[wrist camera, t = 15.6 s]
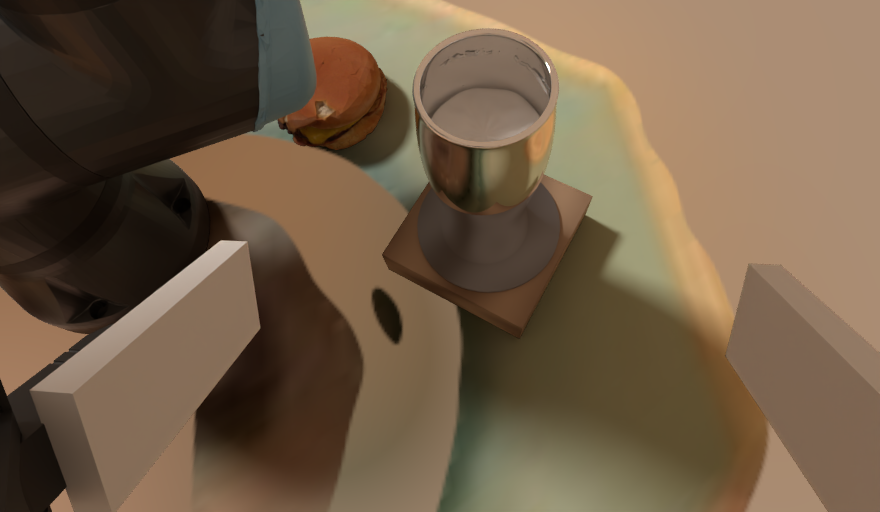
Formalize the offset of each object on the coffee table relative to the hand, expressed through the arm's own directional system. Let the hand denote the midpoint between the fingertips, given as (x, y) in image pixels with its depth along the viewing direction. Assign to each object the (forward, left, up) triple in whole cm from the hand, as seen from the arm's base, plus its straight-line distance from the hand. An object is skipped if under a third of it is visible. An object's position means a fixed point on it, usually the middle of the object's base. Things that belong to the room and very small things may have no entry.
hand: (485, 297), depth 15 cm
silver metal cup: (-5, +10, -21) cm, 24 cm away
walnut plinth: (-5, +10, -24) cm, 27 cm away
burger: (-23, +15, -25) cm, 37 cm away
